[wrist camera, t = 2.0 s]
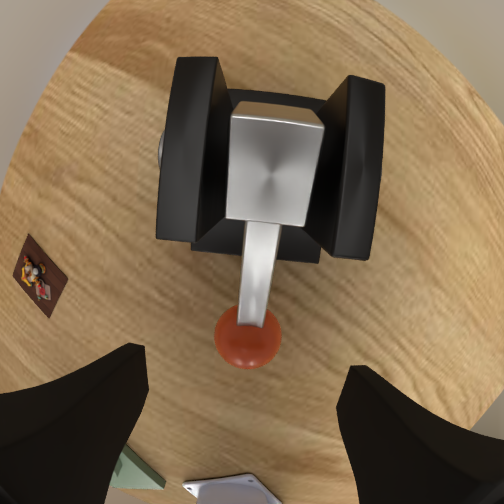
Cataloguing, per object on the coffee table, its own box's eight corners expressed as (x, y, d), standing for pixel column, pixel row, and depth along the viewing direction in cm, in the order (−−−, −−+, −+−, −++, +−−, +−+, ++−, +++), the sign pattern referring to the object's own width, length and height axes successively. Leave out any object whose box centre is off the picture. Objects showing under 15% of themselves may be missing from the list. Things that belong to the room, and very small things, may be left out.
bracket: (315, 259, 16) (382, 347, 7) (194, 246, 16) (120, 322, 7) (332, 107, 14) (414, 27, 5) (210, 93, 14) (157, -7, 5)
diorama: (30, 246, 17) (12, 252, 14) (60, 280, 17) (43, 289, 15) (20, 274, 17) (3, 281, 15) (47, 306, 18) (31, 316, 15)
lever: (276, 332, 15) (275, 382, 12) (218, 326, 15) (210, 376, 12) (323, 110, 8) (347, 131, 6) (227, 98, 8) (208, 115, 6)
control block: (166, 481, 22) (160, 501, 19) (115, 480, 23) (108, 497, 20) (106, 423, 20) (94, 444, 17) (60, 426, 21) (48, 443, 18)
